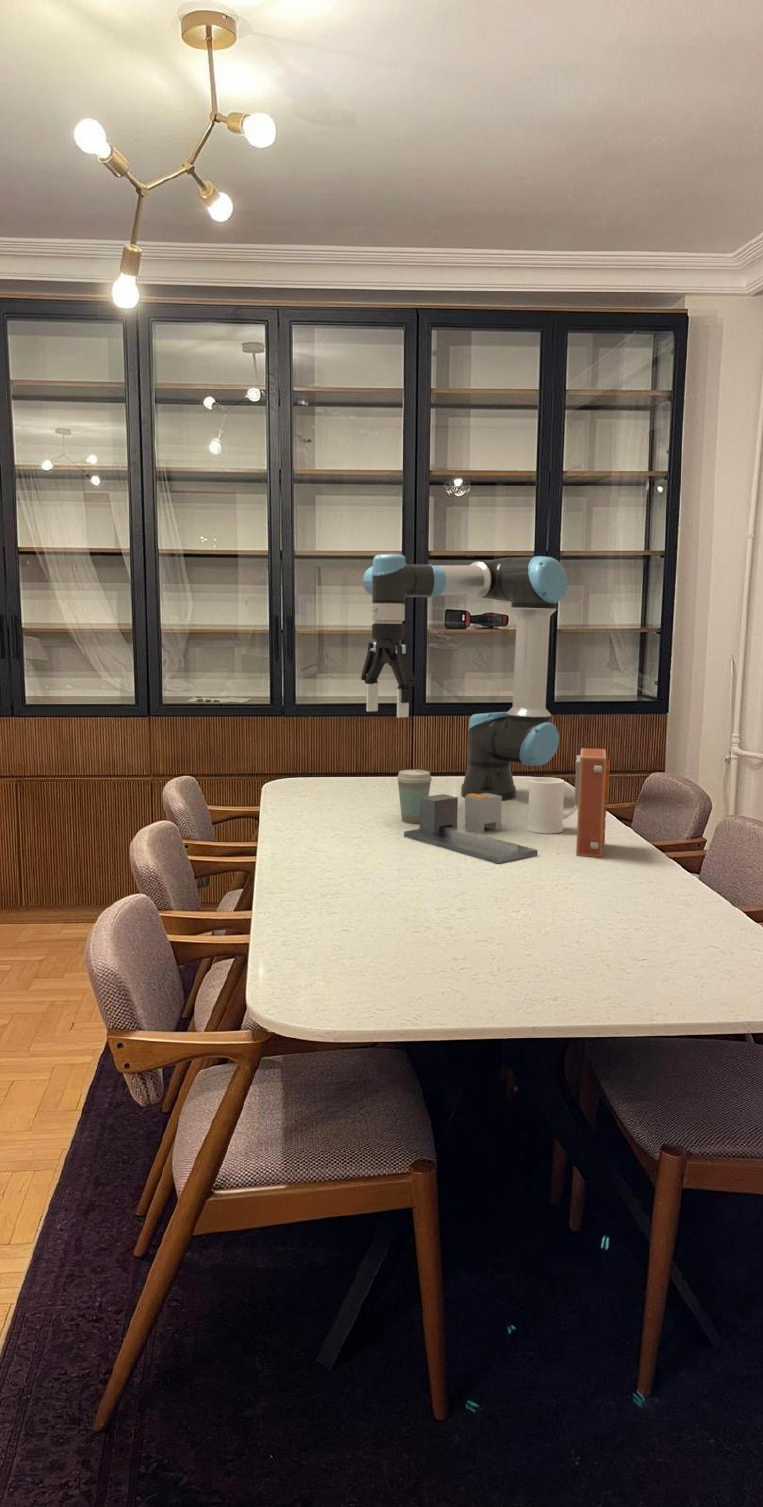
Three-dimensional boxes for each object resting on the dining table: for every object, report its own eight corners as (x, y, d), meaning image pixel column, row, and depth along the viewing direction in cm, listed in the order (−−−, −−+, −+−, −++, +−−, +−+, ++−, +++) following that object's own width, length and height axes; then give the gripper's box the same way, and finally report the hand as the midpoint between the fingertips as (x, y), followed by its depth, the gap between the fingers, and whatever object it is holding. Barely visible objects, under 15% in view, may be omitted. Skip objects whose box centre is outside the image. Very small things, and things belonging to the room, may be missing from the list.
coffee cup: (431, 824, 250) (432, 775, 248) (396, 824, 250) (396, 774, 248) (430, 817, 258) (431, 769, 256) (396, 816, 258) (396, 769, 257)
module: (464, 829, 245) (465, 794, 244) (486, 825, 249) (486, 791, 248) (479, 833, 241) (480, 797, 240) (500, 829, 245) (501, 794, 244)
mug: (574, 826, 249) (576, 777, 248) (579, 834, 241) (581, 783, 239) (525, 825, 250) (526, 776, 248) (528, 833, 241) (530, 782, 240)
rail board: (403, 836, 237) (404, 796, 235) (443, 829, 244) (444, 791, 243) (497, 863, 214) (498, 819, 212) (537, 855, 221) (538, 812, 220)
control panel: (604, 842, 233) (605, 858, 219) (573, 841, 235) (571, 856, 220) (609, 748, 230) (609, 758, 215) (576, 747, 231) (575, 756, 217)
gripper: (347, 621, 248) (346, 709, 251) (403, 624, 227) (402, 720, 230) (374, 621, 252) (373, 708, 255) (432, 624, 231) (430, 718, 234)
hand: (387, 714), depth 243 cm, fingers open, 13 cm apart
